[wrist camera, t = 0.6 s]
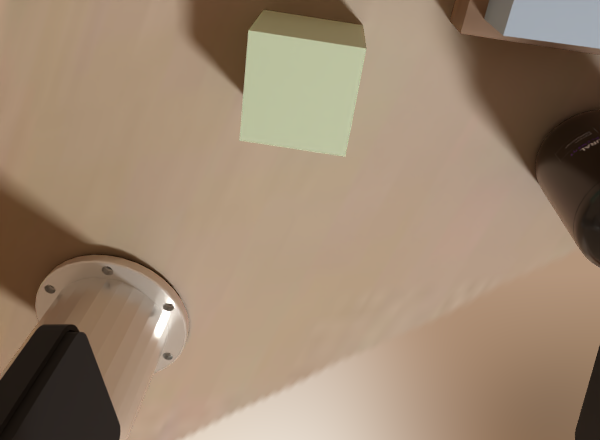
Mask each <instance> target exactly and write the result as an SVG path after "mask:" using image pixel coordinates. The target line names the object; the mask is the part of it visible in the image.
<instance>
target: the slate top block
mask: <svg viewBox="0 0 600 440" xmlns="http://www.w3.org/2000/svg"><path fill="white" fill-rule="evenodd" d="M484 19H485V20H486V21H487V22H488V23H489V24H490V25H492V26H493V27H494V28H495V29H496V30H497V31H499V32H500V33H501V34H502V35H503V36H510V37H517V38H525V39H532V40H539V41H547V42H554V43H562V44H569V45H577V46H584V47H591V48H599V49H600V0H489V3H488V7H487V10H486V14H485V17H484Z"/></svg>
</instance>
